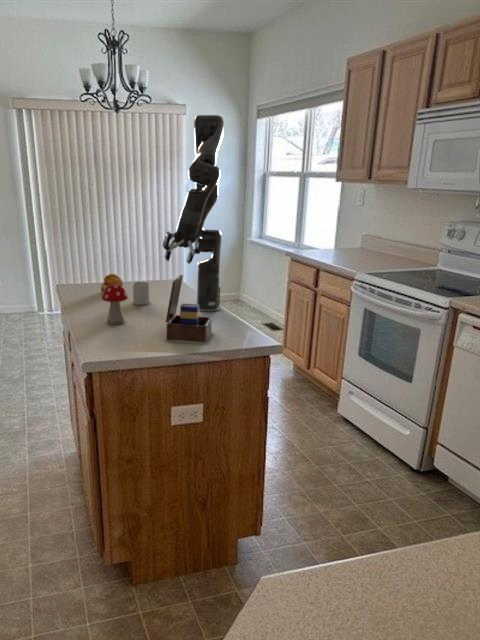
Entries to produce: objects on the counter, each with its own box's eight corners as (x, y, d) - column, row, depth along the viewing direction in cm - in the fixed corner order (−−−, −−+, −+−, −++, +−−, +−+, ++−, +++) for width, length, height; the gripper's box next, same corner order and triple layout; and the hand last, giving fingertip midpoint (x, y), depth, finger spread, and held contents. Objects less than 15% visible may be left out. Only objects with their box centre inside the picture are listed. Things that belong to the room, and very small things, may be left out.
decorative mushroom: (106, 326, 203) (104, 287, 197) (100, 320, 210) (98, 283, 205) (131, 324, 207) (130, 285, 201) (124, 318, 214) (123, 281, 208)
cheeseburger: (110, 289, 264) (113, 270, 259) (125, 297, 260) (129, 278, 255) (95, 292, 256) (98, 272, 252) (111, 300, 252) (114, 280, 247)
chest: (211, 334, 196) (211, 317, 194) (205, 344, 185) (205, 326, 182) (174, 331, 199) (174, 314, 196) (166, 341, 187) (166, 323, 184)
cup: (135, 305, 234) (134, 285, 231) (130, 300, 243) (130, 280, 240) (151, 304, 236) (150, 284, 233) (146, 299, 245) (146, 280, 242)
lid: (183, 275, 190) (180, 274, 190) (175, 281, 178) (172, 281, 178) (175, 313, 196) (173, 313, 196) (167, 322, 184) (165, 322, 184)
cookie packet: (199, 334, 193) (199, 304, 189) (196, 337, 189) (197, 307, 184) (182, 333, 194) (182, 303, 190) (179, 336, 190) (180, 306, 185)
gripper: (204, 218, 194) (191, 258, 203) (168, 212, 188) (156, 254, 197) (211, 227, 189) (198, 268, 198) (174, 221, 183) (162, 263, 192)
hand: (177, 261), depth 198 cm, fingers open, 8 cm apart
